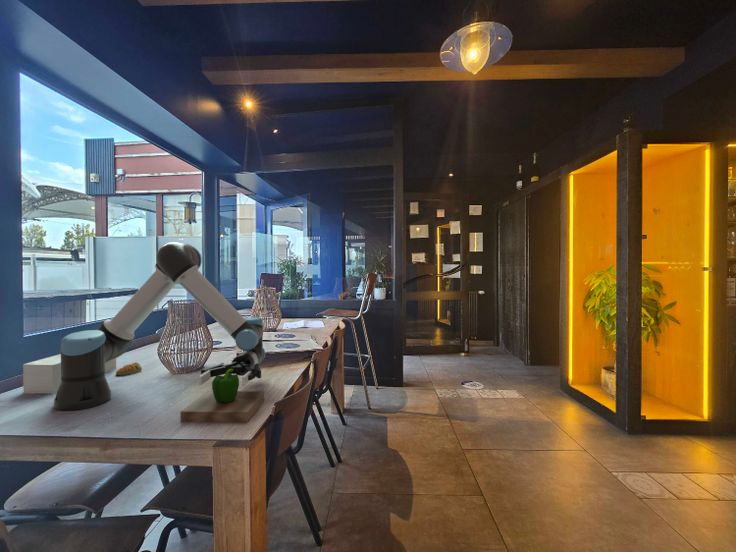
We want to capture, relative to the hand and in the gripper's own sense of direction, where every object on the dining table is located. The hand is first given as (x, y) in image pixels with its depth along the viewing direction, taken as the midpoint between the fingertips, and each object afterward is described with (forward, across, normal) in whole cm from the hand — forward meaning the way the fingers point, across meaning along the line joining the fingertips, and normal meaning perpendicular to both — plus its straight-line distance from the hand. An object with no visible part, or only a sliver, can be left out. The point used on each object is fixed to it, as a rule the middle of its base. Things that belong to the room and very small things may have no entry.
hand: (221, 381), depth 112 cm
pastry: (-42, +57, -11) cm, 72 cm away
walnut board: (-3, 0, -10) cm, 11 cm away
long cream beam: (-32, +72, -11) cm, 80 cm away
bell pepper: (-3, 0, -8) cm, 8 cm away
